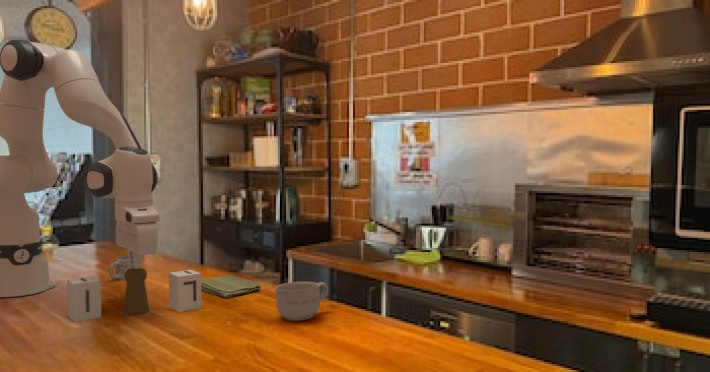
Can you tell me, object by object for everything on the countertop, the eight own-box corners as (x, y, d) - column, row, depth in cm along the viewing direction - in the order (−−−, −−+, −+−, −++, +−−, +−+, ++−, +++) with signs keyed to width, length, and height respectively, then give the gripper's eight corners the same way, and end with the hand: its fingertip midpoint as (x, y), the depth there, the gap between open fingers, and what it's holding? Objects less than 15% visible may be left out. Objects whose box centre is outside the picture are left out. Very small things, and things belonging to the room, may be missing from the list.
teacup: (284, 326, 125) (284, 292, 124) (269, 314, 134) (269, 282, 134) (339, 318, 131) (339, 285, 131) (321, 307, 141) (321, 276, 140)
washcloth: (226, 301, 148) (225, 289, 148) (190, 290, 160) (190, 279, 160) (264, 292, 158) (264, 281, 158) (228, 282, 170) (228, 272, 169)
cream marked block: (169, 307, 141) (168, 272, 140) (191, 303, 145) (191, 269, 144) (178, 312, 136) (178, 276, 135) (201, 308, 140) (201, 272, 139)
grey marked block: (68, 316, 133) (66, 279, 132) (94, 311, 137) (93, 275, 136) (74, 322, 128) (73, 283, 127) (101, 317, 132) (100, 279, 131)
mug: (128, 274, 179) (127, 254, 178) (143, 276, 176) (142, 256, 175) (102, 281, 170) (101, 260, 169) (117, 283, 167) (117, 261, 166)
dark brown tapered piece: (140, 316, 133) (139, 271, 132) (118, 314, 134) (117, 270, 133) (154, 309, 139) (153, 266, 138) (132, 307, 140) (131, 265, 139)
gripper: (108, 210, 141) (109, 263, 142) (135, 216, 125) (136, 276, 126) (133, 208, 145) (134, 260, 146) (162, 215, 129) (163, 272, 130)
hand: (135, 267), depth 136 cm, fingers closed
